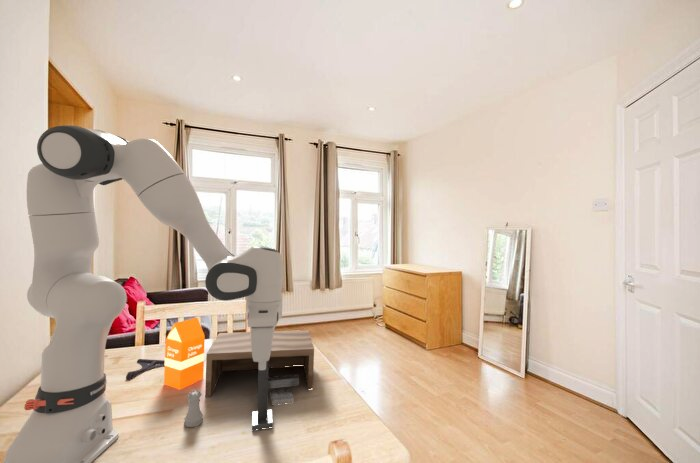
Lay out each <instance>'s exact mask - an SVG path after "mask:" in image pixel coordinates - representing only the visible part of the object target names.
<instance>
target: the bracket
mask: <svg viewBox="0 0 700 463" xmlns="http://www.w3.org/2000/svg"><path fill="white" fill-rule="evenodd" d="M136 363H137V364H138V365H141V368H139V369H136V370H134V371H129V372H127V374H126V376H125V380H126V381H130V380H133V379H134V378H136V377H137V376H139V375H140V374H142V373H144V372H146V371H150V370H152V369H156V368H162V367H165V359H162V360H161V359H146V358H139V359H137V361H136Z"/></svg>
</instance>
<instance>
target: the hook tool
mask: <svg viewBox="0 0 700 463" xmlns="http://www.w3.org/2000/svg"><path fill="white" fill-rule="evenodd" d="M258 365H259V363H258ZM257 370H258V373H257V410H256V411H252V413H251V414H252V416H251V418H252V419H251V431H252V430H256V429H262V428H269V427H273V423H274V421H273V409H268V405H269V404H268V403H269V402H268V397H269V396H268V395H269V389H276V388H277V389H278V388H284V387H285V388H287V387H293V386H294V387H295V386H299V385H300V376H299V374H298V373H295V374H287V375H286V374H285V375H277V376H269V368H268V361H266V369H265V370H259V369H257Z"/></svg>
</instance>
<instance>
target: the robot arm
mask: <svg viewBox="0 0 700 463" xmlns="http://www.w3.org/2000/svg"><path fill="white" fill-rule="evenodd" d="M36 145H37V146H36V153H37V156H38V158H39V160H40V162H41V163H40V164H37V165H35V166H34V167H32V168H31V169H29V171H28V174H27V177H26V178H27V181H26V207H27V214H28V220H29V225H30V231H31V236H32V238H31V239H32V243H33V254H34V256H33V259H34V260H33V267H32V268H33V270H32V280H31V284H30V285H29V287H28V289H27V293H26V299H27V301H28V304H29V305H30V306H31V308H33V309H34V310H35V311H36V312H38V313H39V314H40V315H42V316H44V317H47V318H51V319H54V321H55V326H54V330H53V334H52V336H51V339H50V341H49V343H48V345H47V346H46V347H45V348H44V349H43V351H42V353H41V366H40V367H41V372H40V385H39V387H38V389H37V392H36V394H35V397H34V398H32V399H31V398H30V399H27V401H25V404H24V407H23V408H24V410H25V411H32V412H31V414H30V415H29V416H28V419H27V420H26V421H25V422H24V424H23V426H22V427H21V428H20V429H19V432H18V433H17V435H16V436H15V437H14V439H13V440H12V442H11V444H10V445H9V447H8V448H7V449H6V452H5V454H4V460H3V463H92V462H93V461H94V460H96V458H98V457H99V456H100V455H101V454H102V453H103V452H104V451H106V450H107V449H108V448H109V447H110V446H111V445H112V444H113V443H115V441H117V440H118V439H119V437H120V436H119V432H118V430H115V429H114V428H113V427H114V426H113V412H112V411H113V410H112V402H111V401H110V400H109V399H108V397H107V396H106V394H105V392H106V389H107V375H106V373H105V359H106V358H105V356H106V355H105V354H106V345H107V339H108V335H109V332H110V330H111V327H112V324H113V323H114V321H115V319H117V318H118V317H119V316H120V315H121V314H122V313H123V311H124V309H125V307H126V305H127V300H128V298H127V297H128V296H127V295H128V294H127V292H126V290H125V288H124V287H123V285H122V284H120V283H118V282H117V281H115V280H113V279H111V278H110V277H107V276H104V275H99V274H93V272H92V263H93V257H94V253H95V252H96V250H97V248H98V247H99V245H100V239H99V233H98V225H97V218H96V211H95V205H94V200H93V199H94V198H93V191H94V189H95V187H96V186H98V185H102V186H106V185H109V184H112V183H116V182H118V181H122V180H123V181H124V182H126V183H127V184H128V185H129V187H130V188H131V189H132V190H133V192H134V193H135V195H136V196H137V198H138V199H139V201H140V202H141V204H142V205H143V206H144V207H145V209H147V210H148V211H149V212H150V214H151V215H153V216H154V218H156V219H157V220H158V221H159V222H160V223H162V224H164V225H166V226H167V227H170V228H171V229H173V230H175V231H177V232H179V233H180V234H181V235H183V236H184V238H186V239H187V241H188V242H189V243H190V244H191V245H192V247H193V248H194V250H195V252H196V253H197V254H198V255H199V257H200V258H201V259H202V260H203V262H204V264H205V265H206V268H207V274H206V276H205V282H204V283H205V284H204V285H205V289H206V291H207V292H208V293H209V295H210V296H211V297H212V298H214V299H216V300H219V301H223V302H224V301H226V302H227V301H232V300H236V299H237V300H238V299H243V298H245V297H246V298H245V299H246V300H245V301H246V302H245V319H246V320H247V327H248V328H250V332H251V349H252V358H253V361H254V362H258V363H259V365H258V369H259V370H265V369H266V361H268V360H269V358H270V354H271V347H272V340H273V333H274V331H275V329H276V327H277V325H278V322H279V320H281V319H282V317H283V300H284V298H283V293H282V286H283V283H284V264H283V263H284V262H283V257H282V254H281V253H280V252H279V251H278V250H277V249H275V248H272V247H268V246H263V245H252V246H251V247H250V248H248V249H246V250H245V251H243V252H241V253H239V254H236V255H234V254H233V253H231V252H230V251H229V250H228V249H227V248H226V246H225V245H224V243H223V242H222V241H221V240H220V238H219V237H218V235H217V234H216V232H215V231H214V229H213V228H212V227H211V225H210V224H209V221H208V220H207V216H206V215H205V211H204V209H203V205H202V203H201V201H200V198H199V196H198V193H197V192H196V189H195V187H194V186H193V184H192V182H191V180H190V179H189V177H188V175H187V174H186V173H185V172H184V170H183V168H182V167H181V166H180V165H179V164H178V161H176V160H175V159H174V157H173V156H172V155H171V154H170V153H169V152H168V151H167V149H165V147H164V146H163V145H161V144H160V143H159V142H158V141H156V140H155V139H151V138H143V137H142V138H136V139H133V140H130V141H128V140H126V138H123V137H121V136H119V135H115V134H113V133H109V132H106V131H103V130H100V129H95V128H94V129H93V128H92V129H91V128H86V127H85V128H84V127H82V126H78V125H68V124H67V125H66V124H65V125H57V126H52V127H50V128H48V129H46V130H45V131H44V132H43V133H42V134H41V135H40V137H39V139H38V141H37V144H36ZM258 369H257V370H258Z"/></svg>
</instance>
